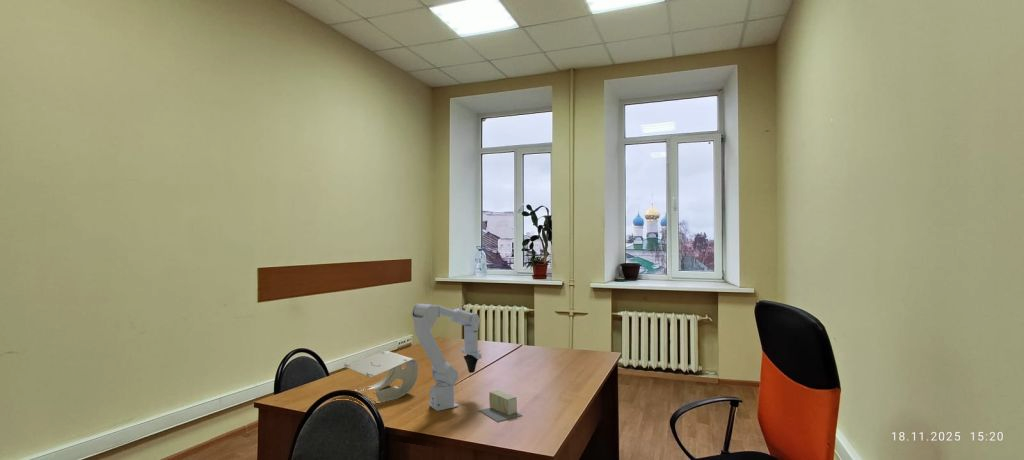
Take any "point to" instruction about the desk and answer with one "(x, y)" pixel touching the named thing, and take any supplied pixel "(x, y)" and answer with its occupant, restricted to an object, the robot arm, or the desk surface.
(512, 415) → the mat
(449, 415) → the desk surface
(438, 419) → the desk surface
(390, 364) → the portable electronic device stand
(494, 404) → the skincare box
